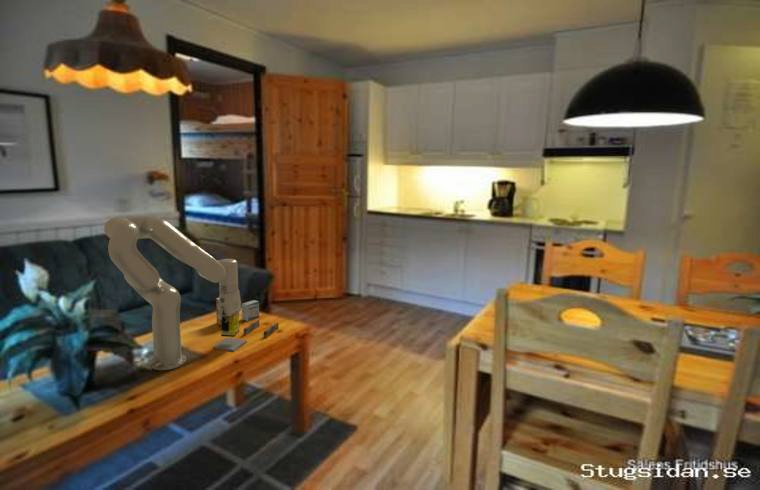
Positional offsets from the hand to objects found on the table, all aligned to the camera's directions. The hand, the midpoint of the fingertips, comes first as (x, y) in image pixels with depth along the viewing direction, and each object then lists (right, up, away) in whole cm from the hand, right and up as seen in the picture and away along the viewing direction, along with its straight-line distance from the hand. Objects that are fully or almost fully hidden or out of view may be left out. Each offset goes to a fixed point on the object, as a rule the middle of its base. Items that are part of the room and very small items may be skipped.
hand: (230, 327), depth 179 cm
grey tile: (0, -8, +1) cm, 8 cm away
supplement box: (0, -3, +1) cm, 3 cm away
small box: (-11, -4, +25) cm, 28 cm away
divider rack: (+9, -6, +18) cm, 20 cm away
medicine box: (-2, -2, +34) cm, 34 cm away
